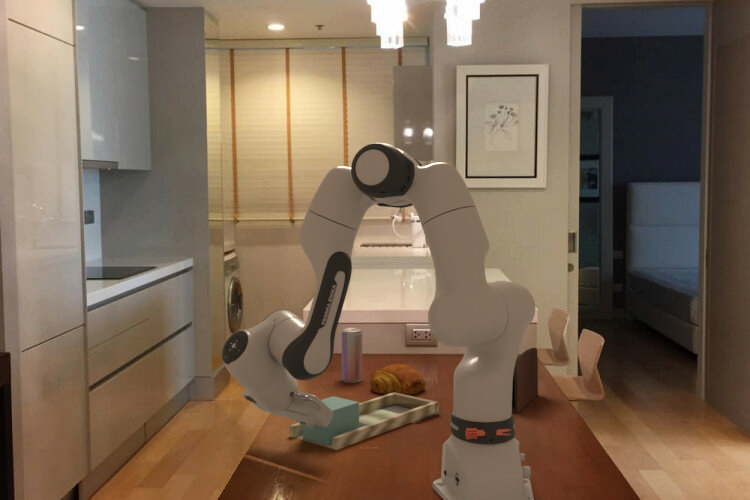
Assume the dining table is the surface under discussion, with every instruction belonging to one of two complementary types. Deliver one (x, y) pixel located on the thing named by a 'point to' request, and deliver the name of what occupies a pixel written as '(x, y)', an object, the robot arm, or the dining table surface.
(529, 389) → the letter holder
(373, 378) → the croissant
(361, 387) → the dining table surface
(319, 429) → the teal block
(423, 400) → the trap lane
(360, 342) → the beverage can
